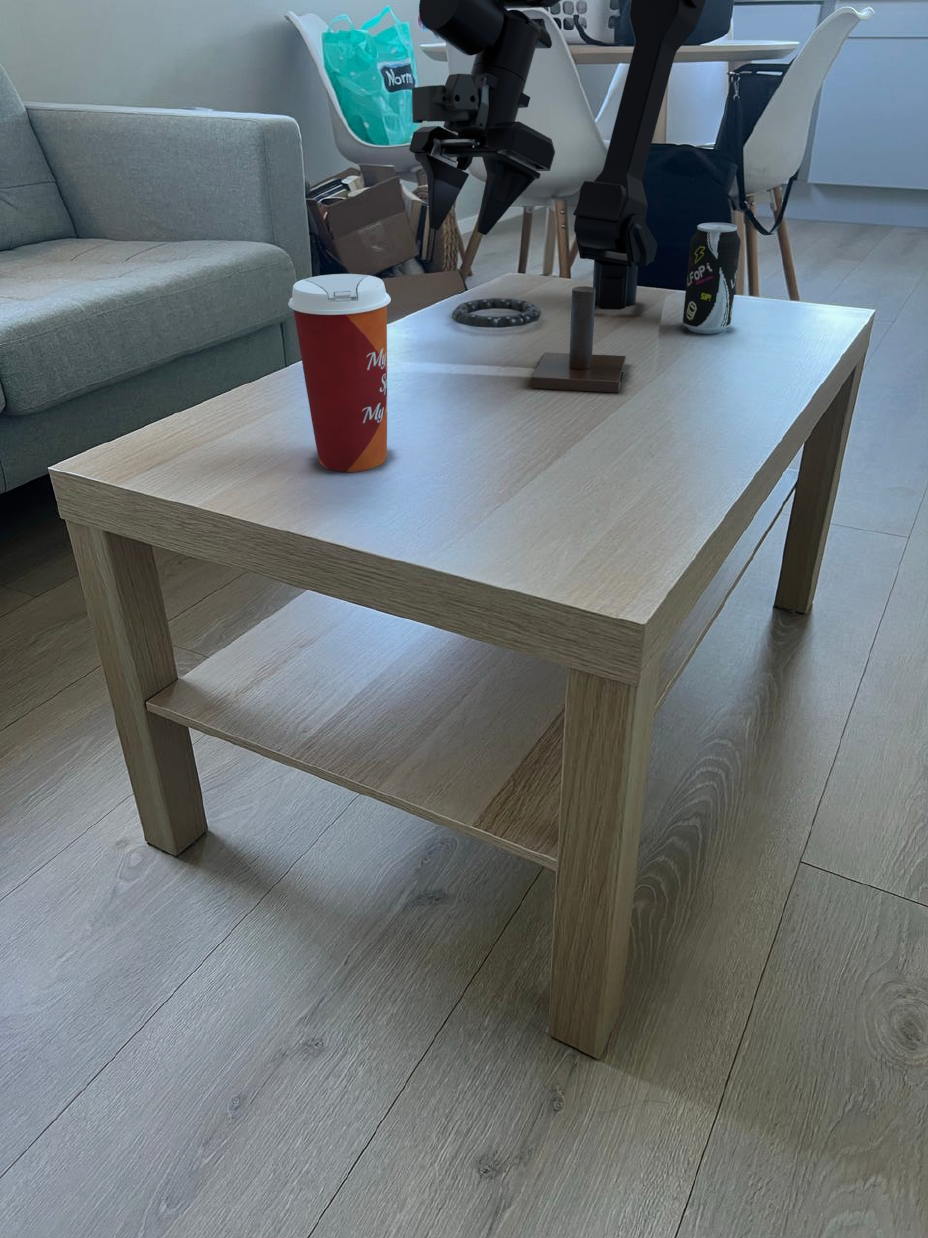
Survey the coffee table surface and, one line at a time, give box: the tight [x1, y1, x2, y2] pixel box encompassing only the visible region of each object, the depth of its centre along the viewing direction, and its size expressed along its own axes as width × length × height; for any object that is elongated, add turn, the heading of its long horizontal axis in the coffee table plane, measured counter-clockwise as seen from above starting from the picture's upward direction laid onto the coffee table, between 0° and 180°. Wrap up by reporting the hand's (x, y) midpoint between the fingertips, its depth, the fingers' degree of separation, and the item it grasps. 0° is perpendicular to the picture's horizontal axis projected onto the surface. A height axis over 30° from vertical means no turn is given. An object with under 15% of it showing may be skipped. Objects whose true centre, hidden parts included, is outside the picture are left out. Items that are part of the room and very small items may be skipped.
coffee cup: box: [288, 273, 392, 473], centre depth 81 cm, size 8×8×15 cm
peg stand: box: [531, 285, 627, 394], centre depth 100 cm, size 9×9×9 cm
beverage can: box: [682, 222, 742, 335], centre depth 115 cm, size 6×6×12 cm
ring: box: [451, 297, 542, 329], centre depth 121 cm, size 11×11×2 cm
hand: (456, 231), depth 102 cm, fingers open, 9 cm apart
